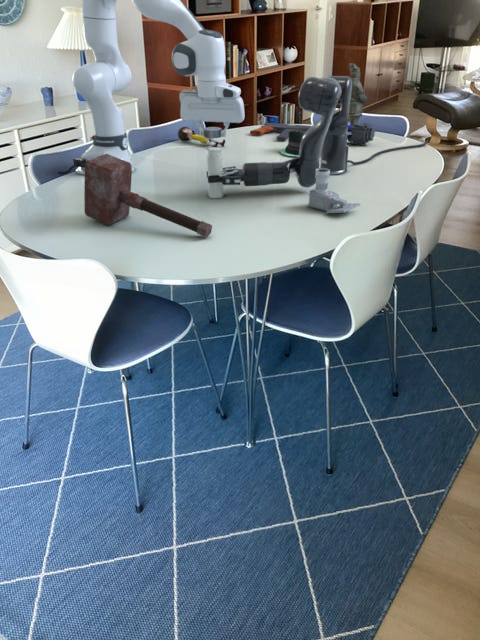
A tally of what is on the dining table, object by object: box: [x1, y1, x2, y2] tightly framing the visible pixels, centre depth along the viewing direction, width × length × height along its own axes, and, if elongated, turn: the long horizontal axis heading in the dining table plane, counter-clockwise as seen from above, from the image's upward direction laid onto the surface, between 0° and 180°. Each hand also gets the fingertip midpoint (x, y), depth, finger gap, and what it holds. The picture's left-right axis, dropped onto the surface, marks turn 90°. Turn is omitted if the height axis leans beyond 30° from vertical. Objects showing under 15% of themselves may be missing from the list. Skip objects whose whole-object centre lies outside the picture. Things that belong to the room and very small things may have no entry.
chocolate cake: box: [279, 128, 310, 158], centre depth 234 cm, size 15×19×20 cm
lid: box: [203, 126, 223, 139], centre depth 177 cm, size 6×6×2 cm
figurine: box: [177, 126, 226, 147], centre depth 251 cm, size 13×8×25 cm
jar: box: [206, 146, 225, 199], centre depth 183 cm, size 5×5×16 cm
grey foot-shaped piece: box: [308, 167, 361, 214], centre depth 169 cm, size 9×12×15 cm
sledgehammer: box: [83, 154, 213, 238], centre depth 159 cm, size 17×10×40 cm
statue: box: [348, 62, 368, 127], centre depth 262 cm, size 11×9×30 cm
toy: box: [347, 122, 376, 146], centre depth 244 cm, size 9×9×15 cm
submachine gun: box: [249, 122, 313, 141], centre depth 263 cm, size 32×3×25 cm
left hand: (213, 136), depth 177 cm, fingers closed on lid, 5 cm apart
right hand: (207, 176), depth 184 cm, fingers closed on jar, 5 cm apart
